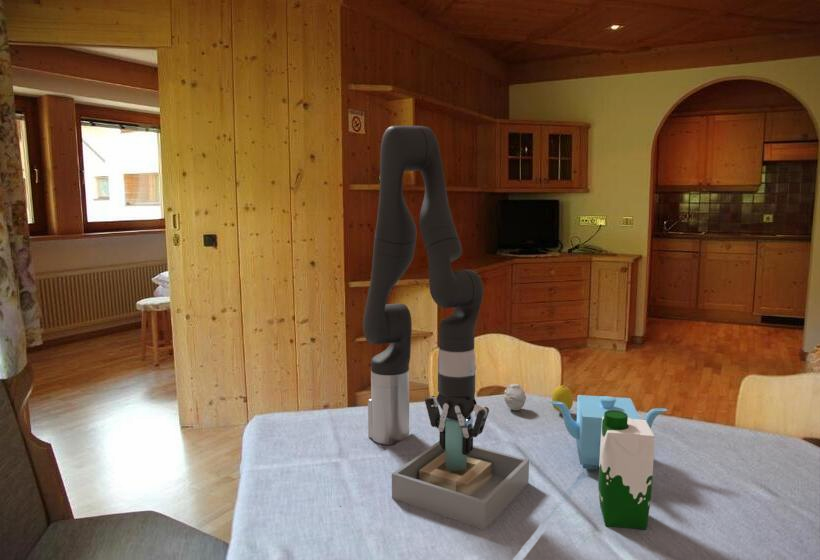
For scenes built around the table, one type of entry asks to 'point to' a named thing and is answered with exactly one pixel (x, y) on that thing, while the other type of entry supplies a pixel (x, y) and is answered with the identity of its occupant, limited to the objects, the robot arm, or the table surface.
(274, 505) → the table surface
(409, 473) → the open box
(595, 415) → the teakettle
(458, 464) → the peg
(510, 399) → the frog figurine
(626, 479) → the milk carton
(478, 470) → the bore block
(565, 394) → the lemon
